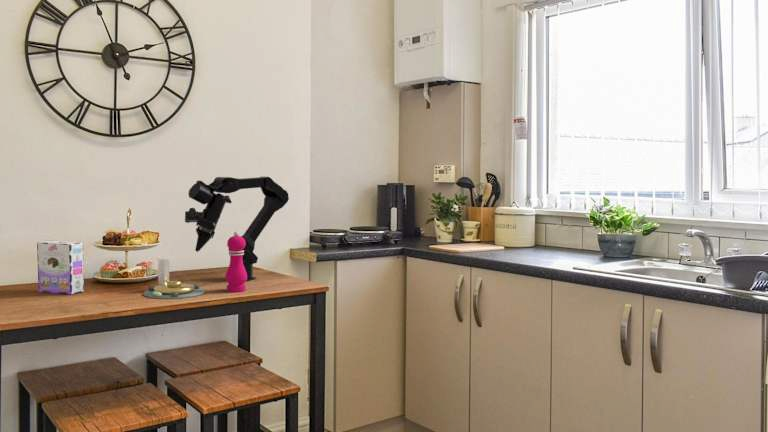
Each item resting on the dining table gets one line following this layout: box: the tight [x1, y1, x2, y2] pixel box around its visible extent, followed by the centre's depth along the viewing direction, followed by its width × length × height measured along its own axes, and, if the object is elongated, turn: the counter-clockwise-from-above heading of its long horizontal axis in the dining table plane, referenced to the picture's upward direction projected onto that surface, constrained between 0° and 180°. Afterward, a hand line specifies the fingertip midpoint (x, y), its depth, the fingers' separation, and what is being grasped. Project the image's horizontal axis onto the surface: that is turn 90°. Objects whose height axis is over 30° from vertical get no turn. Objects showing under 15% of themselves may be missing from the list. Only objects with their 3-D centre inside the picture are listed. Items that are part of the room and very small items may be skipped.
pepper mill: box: [224, 230, 247, 293], centre depth 224 cm, size 7×7×20 cm
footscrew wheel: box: [154, 258, 195, 294], centre depth 218 cm, size 15×13×9 cm
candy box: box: [36, 240, 85, 295], centre depth 216 cm, size 14×6×16 cm, turn 71°
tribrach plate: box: [143, 284, 205, 300], centre depth 218 cm, size 19×19×2 cm
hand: (196, 251), depth 231 cm, fingers closed
